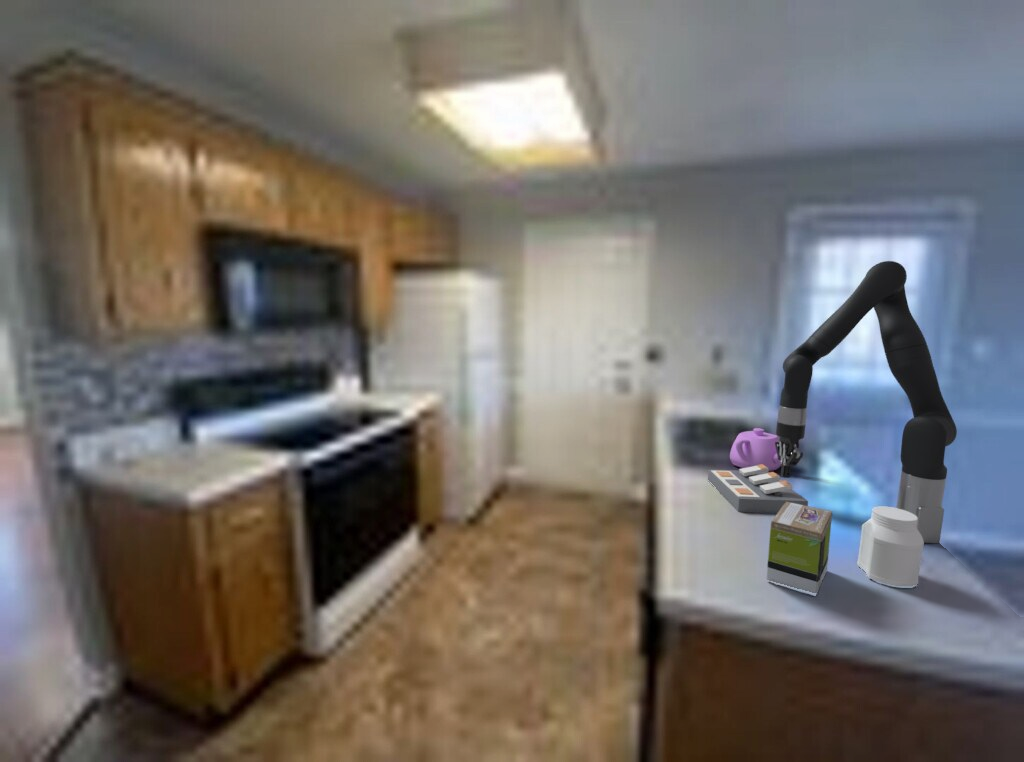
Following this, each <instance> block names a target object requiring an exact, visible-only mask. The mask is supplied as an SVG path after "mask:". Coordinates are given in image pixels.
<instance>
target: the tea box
mask: <svg viewBox="0 0 1024 762" xmlns="http://www.w3.org/2000/svg"><path fill="white" fill-rule="evenodd" d="M832 519H833V511H831V510H828V509H827V510H826V509H822V508H818V507H813V506H809V505H808V506H804V505H800V504H795V503H791V502H786V503H785V504H784V505H783V506H782V508H781V509H780V511H779V512H778V513H776V514H775V515H774V517H773V519H771V523H770V528H769V529H770V530H769V540H768V541H769V542H768V552H767V553H768V554H767V564H766V565H767V568H766V569H767V570H766V579H767V580H769V581H773V582H776V583H780V584H784V585H787V586H790V587H794V588H797V589H802V590H805V591H809V592H812V593H817V591H818V592H819V590H820V588H819V587H821V586H822V583H823V581H822V580H824V578H825V575H826V573H827V571H828V565H829V562H828V561H829V553H830V542H831V541H830V540H831V532H832V531H831V530H832ZM818 589H819V590H818ZM817 594H818V593H817Z"/></svg>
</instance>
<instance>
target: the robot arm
mask: <svg viewBox="0 0 1024 762" xmlns="http://www.w3.org/2000/svg"><path fill="white" fill-rule="evenodd" d="M906 282H907V271H906V269H905V267H904V266H903V265H902V264H901V263H899V262H897V261H894V260H893V261H892V260H886V261H884V260H883V261H882V262H877V264H876V263H875V265H873V266H872V267H870V268H869V270H868V271H867V272H866V274H865V276H864V278H863V279H862V280H861V282H860V283H859V285H858V286H857V287H856V289H855V290H854V291H853V292H852V294H851V295H850V296H849V297H848V298H847V299H846V300H845V302H843V303H842V305H840V306H839V307H838V308H837V310H835V311H834V312H833V313H832V314H831V315H830V316H829V317H828V318H827V319H826V320H825V321H824V322H823V323H822V324H821V325H820V326H819V327H818V328H817V329H816V330H815V331H813V332H812V334H811V335H810V336H809V337H808V338H807V339H806V340H805V341H804V342H803V343H802V344H800V345H799V346H797V348H796V349H794V350H793V351H792V352H791V353H790V354H788V356H786V358H784V361H783V363H782V370H783V372H784V384H783V388H782V389H781V392H780V401H779V408H778V412H777V419H776V420H777V421H776V430H775V435H777V436H778V437H779V440H780V441H779V442H775V447H776V451H777V456H778V460H781V464H782V465H781V466H780V467H781V469H780V477H783V478H786V479H789V478H791V476H792V475H791V474H792V467H797V465H798V464H799V462H800V460H801V459H802V458H803V456H804V453H803V452H800V451H799V448H800V440H803V439H804V438H805V435H806V434H805V432H806V423H807V418H808V415H807V414H808V413H807V408H808V407H807V406H808V399H809V397H808V396H809V395H808V393H809V389H810V386H811V383H812V382H811V381H812V377H813V373H814V372H813V370H814V369H813V366H814V365H815V364H817V363H818V361H820V360H821V359H822V358H824V357H826V356H828V355H829V354H831V352H833V351H834V350H835V349H836V347H838V346H839V345H840V343H841V344H842V342H843V341H844V340H845V339H846V338H847V337H848V336H849V334H850V333H851V332H852V331H853V329H855V327H857V325H858V324H859V323H860V322H861V320H862V319H863V318H864V317H865V316H866V315H867V314H868V313H869V312H870V311H871V310H872V309H874V311H875V315H876V317H877V320H878V325H879V331H880V332H879V333H880V337H881V342H882V346H883V350H884V354H885V358H886V361H887V364H888V367H889V369H890V372H891V374H892V376H893V377H894V378H895V380H896V382H897V383H898V384H899V386H900V388H901V389H902V391H904V393H905V394H906V396H907V399H908V401H909V404H910V407H911V410H912V415H913V417H912V418H911V419H909V420H908V421H907V422H906V424H905V425H904V427H903V430H902V431H903V432H902V436H901V446H900V447H901V448H900V462H901V465H902V467H901V474H900V478H899V479H900V480H899V485H898V486H899V487H898V494H897V501H896V508H898V509H902V510H905V511H908V512H910V513H912V514H914V515H916V516H917V518H918V522H917V529H918V531H919V532H920V534H921V536H922V538H923V541H924V544H925V543H926V544H927V543H928V544H940V542H941V541H940V540H941V534H942V528H943V523H944V522H943V521H944V515H945V509H944V508H943V507H942V506H943V501H944V494H945V488H946V481H947V476H948V467H947V466H945V455H946V454H945V452H946V447H948V446H950V445H951V444H953V443H954V441H956V438H957V435H958V433H957V432H958V429H957V425H956V423H955V421H954V418H953V416H952V414H951V413H950V410H949V408H948V406H947V404H946V402H945V399H944V397H943V395H942V394H943V393H942V392H941V388H940V385H939V380H938V377H937V374H936V370H935V367H934V363H933V359H932V356H931V352H930V349H929V346H928V344H927V341H926V338H925V337H924V334H923V332H922V330H921V329H920V326H919V324H917V322H916V319H915V318H914V316H913V315H912V313H911V310H910V307H909V304H908V299H907V295H906V294H907V293H906V288H905V284H906Z"/></svg>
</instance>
